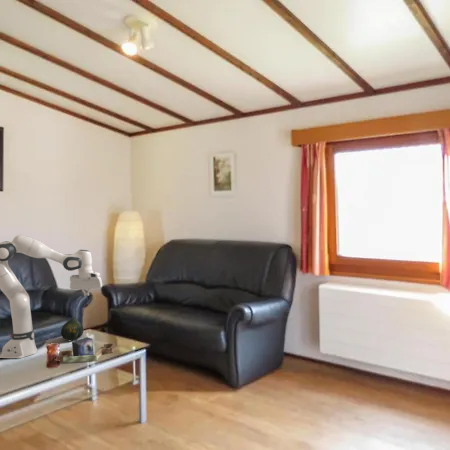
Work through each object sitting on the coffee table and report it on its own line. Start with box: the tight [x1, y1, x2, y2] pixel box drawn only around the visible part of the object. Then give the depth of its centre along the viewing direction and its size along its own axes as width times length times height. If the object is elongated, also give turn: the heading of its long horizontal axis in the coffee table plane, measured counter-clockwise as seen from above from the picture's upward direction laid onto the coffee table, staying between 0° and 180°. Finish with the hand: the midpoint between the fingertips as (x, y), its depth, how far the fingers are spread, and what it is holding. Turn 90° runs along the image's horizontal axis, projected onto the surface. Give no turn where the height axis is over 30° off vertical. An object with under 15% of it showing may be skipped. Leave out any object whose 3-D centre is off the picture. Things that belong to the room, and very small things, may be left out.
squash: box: [60, 317, 84, 341], centre depth 310 cm, size 14×15×15 cm
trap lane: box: [58, 341, 117, 364], centre depth 276 cm, size 32×25×3 cm
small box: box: [71, 336, 95, 357], centre depth 271 cm, size 11×6×10 cm, turn 139°
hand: (86, 295), depth 296 cm, fingers closed
